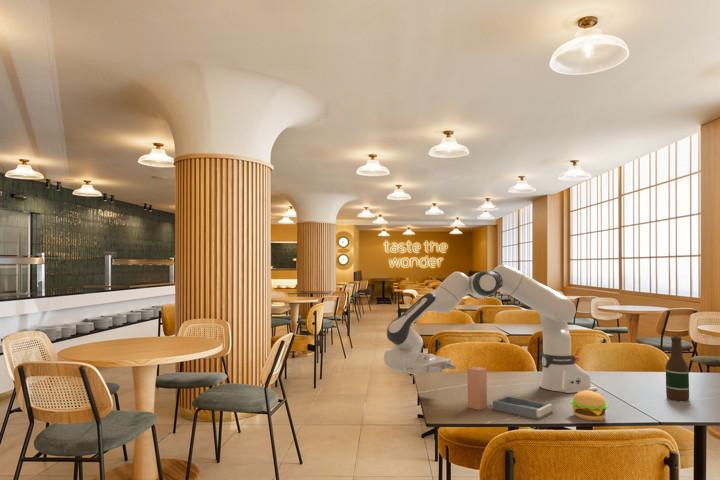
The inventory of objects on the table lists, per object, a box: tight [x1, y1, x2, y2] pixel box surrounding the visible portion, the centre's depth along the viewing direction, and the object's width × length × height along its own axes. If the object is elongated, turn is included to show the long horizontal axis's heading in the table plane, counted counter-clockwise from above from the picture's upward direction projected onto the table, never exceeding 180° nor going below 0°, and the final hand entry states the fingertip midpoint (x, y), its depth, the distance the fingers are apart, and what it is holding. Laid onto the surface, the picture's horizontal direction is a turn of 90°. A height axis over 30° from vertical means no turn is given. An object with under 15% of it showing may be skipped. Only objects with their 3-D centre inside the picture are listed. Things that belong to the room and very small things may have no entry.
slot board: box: [492, 395, 553, 420], centre depth 183 cm, size 17×10×3 cm, turn 47°
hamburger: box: [570, 390, 610, 421], centre depth 177 cm, size 12×12×9 cm
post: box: [467, 366, 488, 411], centre depth 188 cm, size 5×5×14 cm
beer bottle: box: [665, 335, 690, 402], centre depth 200 cm, size 8×8×24 cm
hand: (447, 368), depth 197 cm, fingers open, 8 cm apart
